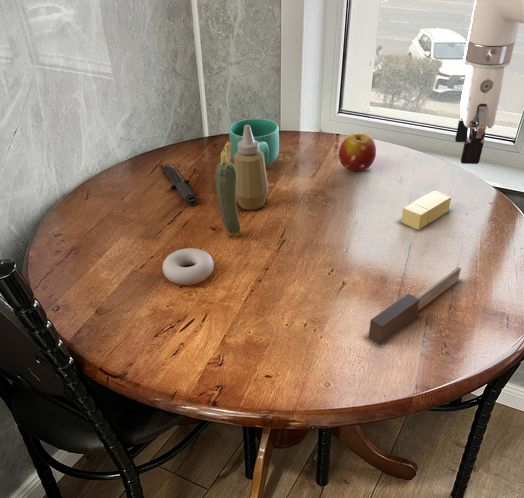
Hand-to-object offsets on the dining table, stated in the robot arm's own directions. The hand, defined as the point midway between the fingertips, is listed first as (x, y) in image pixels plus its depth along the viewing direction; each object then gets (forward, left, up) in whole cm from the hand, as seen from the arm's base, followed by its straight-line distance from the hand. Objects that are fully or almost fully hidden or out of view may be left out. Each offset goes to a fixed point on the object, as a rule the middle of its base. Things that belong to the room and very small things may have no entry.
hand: (466, 151), depth 103 cm
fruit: (+34, -9, -17) cm, 39 cm away
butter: (+7, -2, -17) cm, 18 cm away
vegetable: (+32, +34, -17) cm, 49 cm away
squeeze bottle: (+39, +22, -17) cm, 47 cm away
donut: (+27, +49, -17) cm, 58 cm away
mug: (+53, +8, -17) cm, 56 cm away
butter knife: (-11, +27, -17) cm, 33 cm away
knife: (+60, +28, -17) cm, 68 cm away
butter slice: (+7, +3, -17) cm, 18 cm away
